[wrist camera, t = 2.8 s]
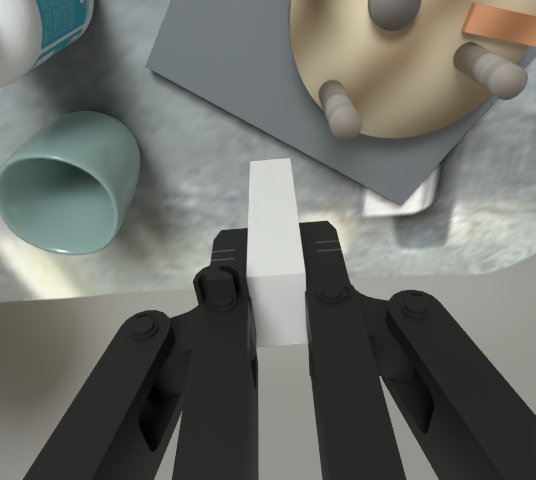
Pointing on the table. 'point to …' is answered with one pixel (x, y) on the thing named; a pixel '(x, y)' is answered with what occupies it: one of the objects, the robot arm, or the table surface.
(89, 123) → the cup
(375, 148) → the stand
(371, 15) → the disc
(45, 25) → the pill bottle
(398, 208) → the table surface
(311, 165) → the table surface
